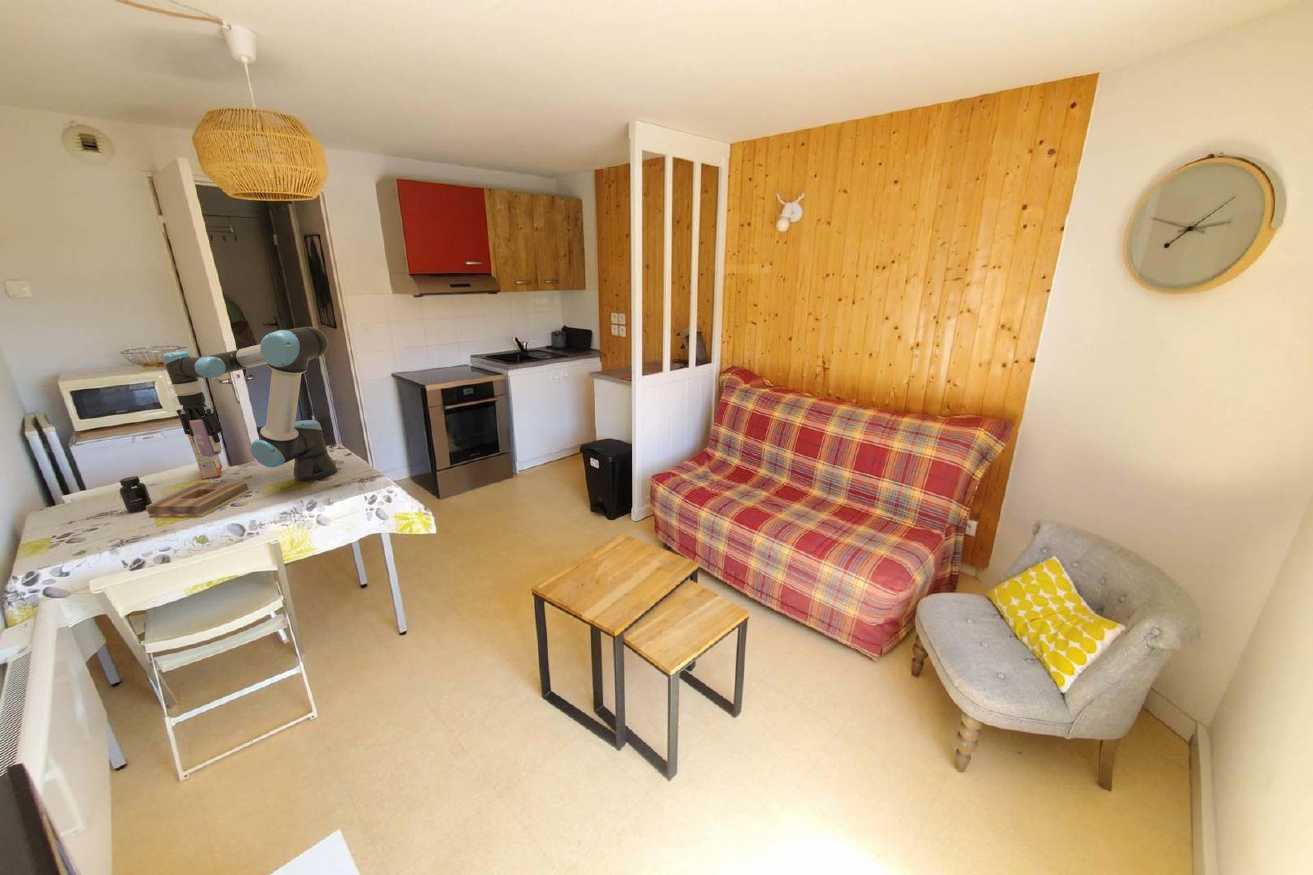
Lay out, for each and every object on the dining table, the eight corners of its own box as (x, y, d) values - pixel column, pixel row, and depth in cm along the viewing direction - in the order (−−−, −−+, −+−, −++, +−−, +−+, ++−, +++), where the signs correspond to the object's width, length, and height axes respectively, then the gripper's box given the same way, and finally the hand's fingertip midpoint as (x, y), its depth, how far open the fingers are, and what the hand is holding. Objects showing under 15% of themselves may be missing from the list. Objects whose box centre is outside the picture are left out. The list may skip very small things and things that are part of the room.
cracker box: (221, 476, 212) (204, 429, 205) (202, 479, 208) (185, 432, 201) (223, 466, 222) (208, 421, 215) (206, 469, 219) (189, 424, 212)
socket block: (249, 491, 195) (246, 482, 194) (202, 516, 176) (198, 506, 175) (201, 491, 197) (197, 482, 195) (149, 516, 178) (145, 506, 176)
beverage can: (225, 452, 200) (213, 416, 195) (211, 457, 194) (198, 420, 190) (212, 452, 201) (199, 416, 196) (198, 457, 195) (184, 421, 190)
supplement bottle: (137, 513, 180) (124, 483, 176) (122, 512, 182) (109, 482, 178) (158, 504, 187) (146, 475, 183) (144, 503, 188) (131, 474, 184)
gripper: (221, 390, 192) (241, 446, 200) (175, 391, 194) (196, 447, 201) (203, 395, 185) (224, 453, 193) (156, 396, 187) (178, 454, 194)
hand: (210, 450), depth 197 cm, fingers closed on beverage can, 6 cm apart
